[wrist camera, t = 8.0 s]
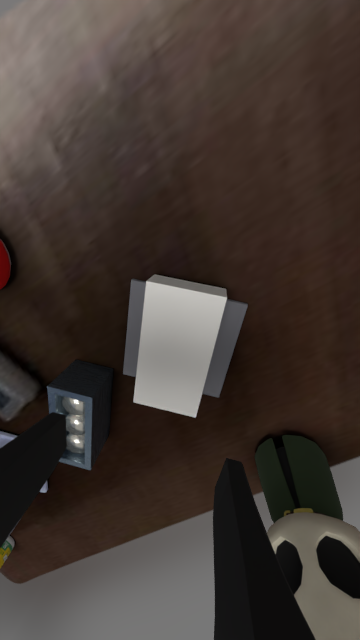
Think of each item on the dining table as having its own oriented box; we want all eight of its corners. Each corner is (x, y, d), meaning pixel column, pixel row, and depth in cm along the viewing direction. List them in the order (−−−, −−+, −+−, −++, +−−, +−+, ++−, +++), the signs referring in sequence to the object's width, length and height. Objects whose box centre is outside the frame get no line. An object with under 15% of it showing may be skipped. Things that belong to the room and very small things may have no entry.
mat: (218, 394, 21) (218, 397, 21) (124, 371, 22) (122, 373, 21) (247, 303, 17) (247, 304, 17) (133, 278, 18) (131, 279, 18)
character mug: (335, 411, 20) (510, 691, 8) (358, 466, 22) (527, 759, 10) (220, 441, 23) (221, 668, 11) (248, 486, 25) (275, 721, 13)
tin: (109, 434, 25) (90, 470, 22) (76, 426, 26) (53, 459, 22) (113, 368, 22) (92, 398, 18) (75, 359, 22) (47, 386, 18)
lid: (197, 399, 21) (195, 417, 19) (141, 385, 21) (133, 402, 19) (226, 288, 17) (227, 297, 15) (154, 274, 17) (146, 280, 15)
